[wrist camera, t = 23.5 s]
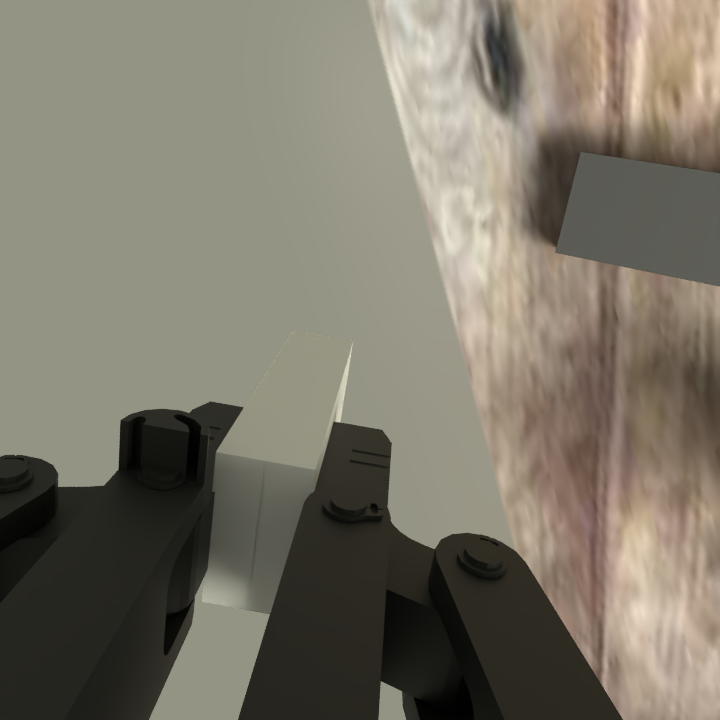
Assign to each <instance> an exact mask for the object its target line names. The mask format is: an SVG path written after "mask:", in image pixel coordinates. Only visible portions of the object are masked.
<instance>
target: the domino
mask: <svg viewBox="0 0 720 720" xmlns="http://www.w3.org/2000/svg"><path fill="white" fill-rule="evenodd" d="M555 253H560V254H565V255H569V256H574V257H579V258H584V259H589V260H594V261H599V262H603V263H608V264H613V265H618V266H623V267H628V268H633V269H637V270H642V271H647V272H652V273H657V274H662V275H667V276H671V277H676V278H681V279H686V280H691V281H696V282H701V283H705V284H710V285H715V286H720V173H715V172H708V171H702V170H695V169H689V168H682V167H676V166H670V165H663V164H657V163H650V162H644V161H637V160H631V159H624V158H618V157H611V156H605V155H598V154H592V153H585V152H581V153H580V157H579V161H578V165H577V169H576V173H575V176H574V180H573V184H572V188H571V192H570V196H569V200H568V204H567V208H566V212H565V216H564V220H563V224H562V228H561V232H560V236H559V240H558V244H557V248H556V252H555Z"/></svg>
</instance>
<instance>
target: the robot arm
mask: <svg viewBox="0 0 720 720" xmlns="http://www.w3.org/2000/svg"><path fill="white" fill-rule="evenodd" d="M352 346H353V341H352V340H347V339H341V338H335V337H329V336H323V335H318V334H312V333H306V332H301V331H295V330H293V331H292V332H291V334H290V335H289V337H288V338H287V340H286V342H285V343H284V345H283V346H282V348H281V349H280V351H279V353H278V354H277V356H276V357H275V359H274V361H273V362H272V364H271V365H270V367H269V368H268V370H267V372H266V373H265V375H264V376H263V378H262V380H261V381H260V383H259V384H258V386H257V388H256V389H255V391H254V393H253V394H252V395H251V397H250V399H249V400H248V402H247V403H246V405H245V407H238V406H233V405H227V404H221V403H215V402H209V403H206V404H204V405H202V406H200V407H198V408H195V409H193V410H192V411H191V412H190V413H187V412H183V411H179V410H168V409H155V410H144V411H140V412H137V413H133V414H130V415H128V416H127V417H125V418H124V419H122V420H121V424H120V449H119V470H118V471H117V472H116V473H115V474H114V475H113V476H112V478H111V479H110V480H109V481H108V482H107V483H106V484H105V485H104V486H95V487H58V473H57V471H56V469H55V468H54V466H53V465H52V464H50V463H48V462H46V461H44V460H42V459H38V458H33V457H28V456H23V455H17V456H15V455H4V456H1V457H0V720H149V718H150V716H151V713H152V711H153V709H154V707H155V705H156V702H157V700H158V698H159V696H160V693H161V691H162V689H163V687H164V685H165V682H166V680H167V678H168V676H169V674H170V671H171V669H172V667H173V664H174V662H175V660H176V658H177V656H178V654H179V651H180V649H181V647H182V645H183V643H184V640H185V638H186V636H187V634H188V631H189V629H190V627H191V624H192V619H193V613H194V602H195V595H196V593H197V591H198V589H199V587H200V584H201V582H202V580H203V578H204V584H203V594H202V602H206V603H212V604H217V605H223V606H228V607H234V608H239V609H245V610H250V611H256V612H261V613H267V614H270V616H269V620H268V623H267V626H266V630H265V633H264V636H263V640H262V643H261V646H260V649H259V653H258V656H257V659H256V662H255V666H254V669H253V672H252V675H251V679H250V682H249V686H248V689H247V692H246V695H245V699H244V702H243V705H242V708H241V712H240V715H239V719H238V720H378V716H379V699H380V683H381V681H382V682H384V683H386V684H388V685H390V686H393V687H395V688H397V689H399V690H401V691H402V696H403V709H404V712H405V716H406V720H623V719H622V717H621V716H620V714H619V713H618V711H617V709H616V708H615V706H614V704H613V703H612V701H611V700H610V698H609V696H608V695H607V693H606V691H605V690H604V688H603V687H602V685H601V683H600V682H599V680H598V679H597V677H596V675H595V674H594V672H593V670H592V669H591V667H590V666H589V664H588V662H587V661H586V659H585V658H584V656H583V654H582V653H581V651H580V649H579V648H578V646H577V645H576V643H575V641H574V640H573V638H572V637H571V635H570V633H569V632H568V630H567V628H566V627H565V625H564V624H563V622H562V620H561V619H560V617H559V615H558V614H557V612H556V611H555V609H554V607H553V606H552V604H551V603H550V601H549V599H548V598H547V596H546V594H545V593H544V591H543V590H542V588H541V586H540V585H539V583H538V582H537V580H536V578H535V577H534V575H533V573H532V572H531V570H530V569H529V567H528V565H527V564H526V562H525V561H524V560H523V559H522V558H521V557H520V556H519V554H518V553H517V552H516V551H514V550H513V549H511V548H510V547H508V546H507V545H505V544H503V543H502V542H500V541H498V540H496V539H494V538H490V537H488V536H484V535H477V534H471V533H463V534H452V535H450V536H448V537H445V538H443V539H441V541H440V542H439V544H438V545H437V547H436V549H432V548H430V547H427V546H425V545H422V544H420V543H418V542H416V541H414V540H412V539H410V538H408V537H407V536H405V535H404V534H402V533H401V532H400V531H399V530H398V529H397V528H396V527H395V526H394V525H393V524H392V522H391V521H390V520H391V517H390V513H389V510H388V507H387V505H388V489H389V473H390V457H391V445H392V443H391V442H390V441H389V439H388V437H387V436H386V435H385V434H384V432H383V431H382V430H379V429H374V428H367V427H362V426H357V425H351V424H344V423H340V419H341V413H342V408H343V401H344V395H345V389H346V383H347V377H348V370H349V364H350V358H351V351H352Z"/></svg>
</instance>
